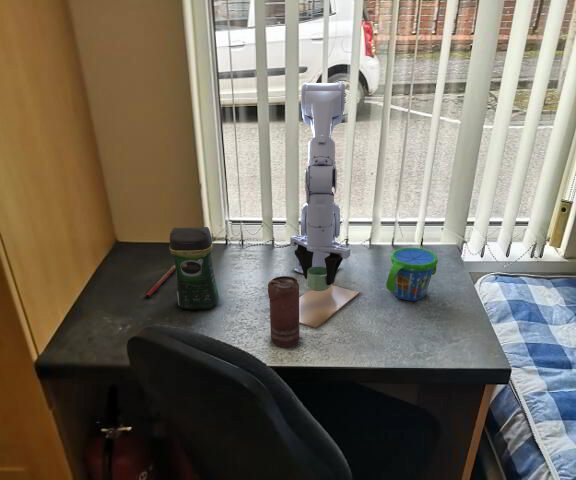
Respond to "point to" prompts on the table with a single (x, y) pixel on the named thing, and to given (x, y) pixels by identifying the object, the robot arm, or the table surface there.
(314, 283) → the bowl
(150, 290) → the pencil
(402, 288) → the snack cup
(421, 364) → the table surface
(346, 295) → the mat
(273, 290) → the can
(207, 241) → the coffee jar
